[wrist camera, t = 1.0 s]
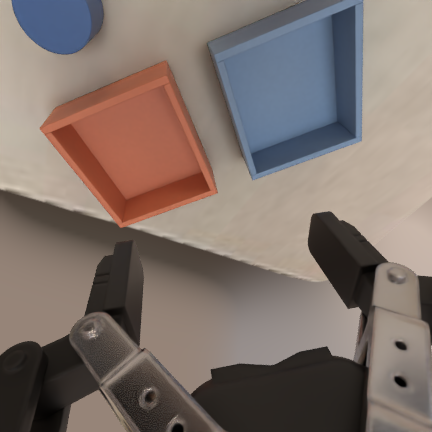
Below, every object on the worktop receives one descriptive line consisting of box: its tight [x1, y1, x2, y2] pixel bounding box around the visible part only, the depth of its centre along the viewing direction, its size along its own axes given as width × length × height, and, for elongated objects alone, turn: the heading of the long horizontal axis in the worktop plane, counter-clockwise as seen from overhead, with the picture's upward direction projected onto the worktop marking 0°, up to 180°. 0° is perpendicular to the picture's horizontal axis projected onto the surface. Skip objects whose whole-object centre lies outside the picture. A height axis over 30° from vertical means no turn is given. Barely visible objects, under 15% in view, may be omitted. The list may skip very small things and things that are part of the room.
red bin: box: [40, 61, 218, 228], centre depth 28 cm, size 12×11×5 cm
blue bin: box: [207, 0, 363, 180], centre depth 26 cm, size 12×11×5 cm
